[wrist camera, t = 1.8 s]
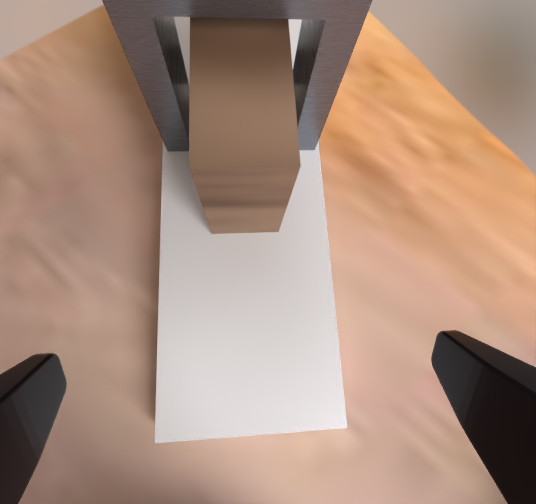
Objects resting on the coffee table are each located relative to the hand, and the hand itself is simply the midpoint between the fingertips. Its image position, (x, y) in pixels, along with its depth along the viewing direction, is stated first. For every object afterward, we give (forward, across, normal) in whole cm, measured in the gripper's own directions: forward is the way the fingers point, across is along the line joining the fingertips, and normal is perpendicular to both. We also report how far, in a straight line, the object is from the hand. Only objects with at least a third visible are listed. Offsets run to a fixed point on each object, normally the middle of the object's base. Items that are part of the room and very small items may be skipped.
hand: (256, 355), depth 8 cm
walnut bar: (+15, 0, -3) cm, 15 cm away
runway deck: (+16, 0, 0) cm, 16 cm away
